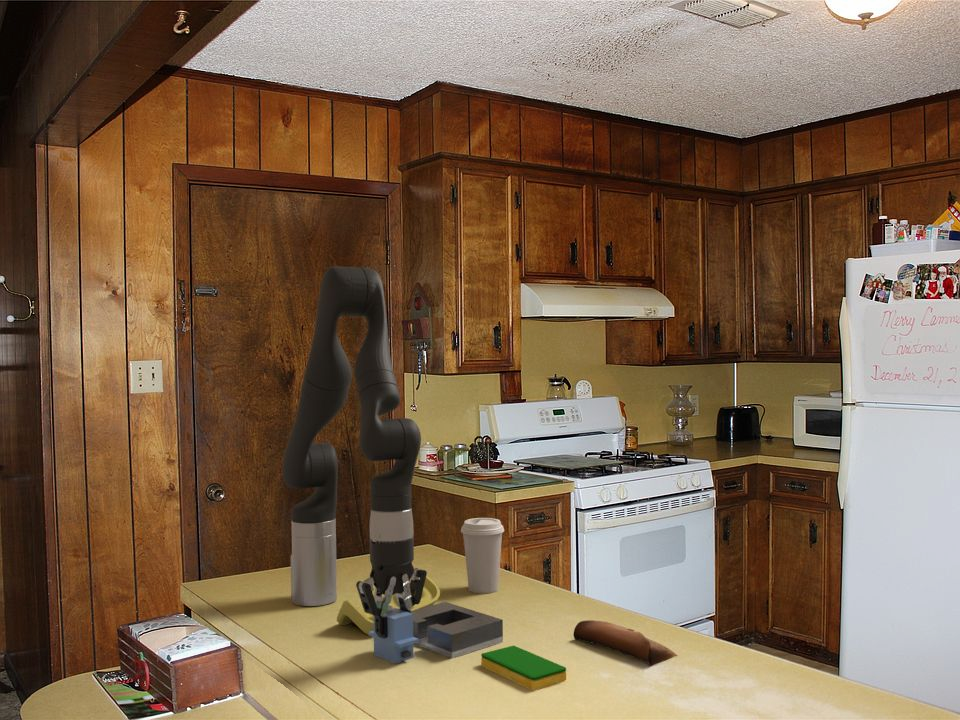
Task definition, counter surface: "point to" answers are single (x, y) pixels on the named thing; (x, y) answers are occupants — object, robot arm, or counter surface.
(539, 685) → the dish sponge
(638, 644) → the sunglasses case
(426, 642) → the grey hollow block
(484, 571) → the coffee cup
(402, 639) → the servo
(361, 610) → the plastic component
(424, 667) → the counter surface
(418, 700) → the counter surface
